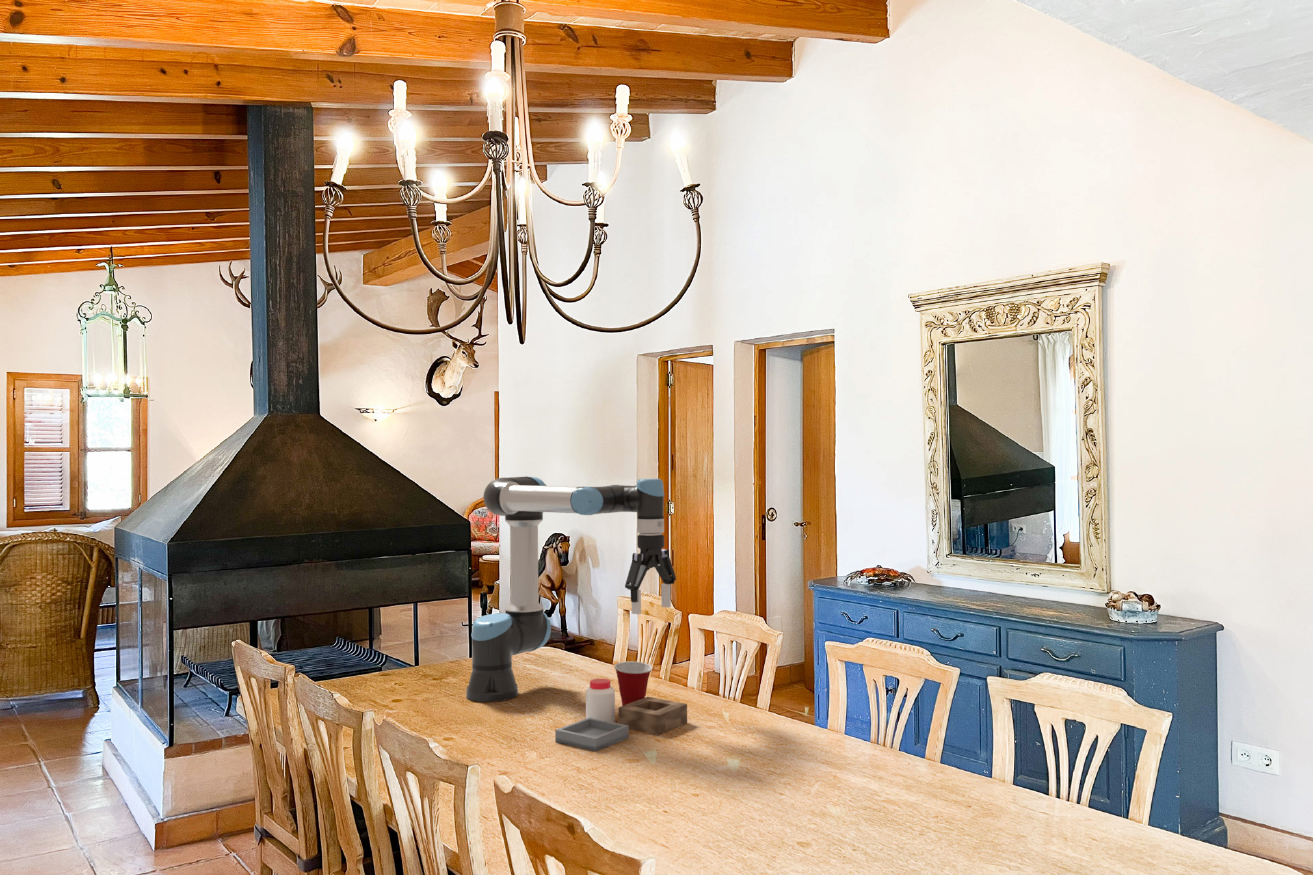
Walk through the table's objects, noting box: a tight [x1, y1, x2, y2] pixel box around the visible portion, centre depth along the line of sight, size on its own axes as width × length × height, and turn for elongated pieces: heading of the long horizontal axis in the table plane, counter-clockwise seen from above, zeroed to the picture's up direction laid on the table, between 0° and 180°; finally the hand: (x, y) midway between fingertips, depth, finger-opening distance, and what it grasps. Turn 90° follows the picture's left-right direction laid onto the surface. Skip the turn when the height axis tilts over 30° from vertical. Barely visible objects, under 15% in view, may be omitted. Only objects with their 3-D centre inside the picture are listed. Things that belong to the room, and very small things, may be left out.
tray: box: [554, 717, 630, 752], centre depth 231 cm, size 13×13×3 cm
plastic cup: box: [613, 660, 653, 706], centre depth 260 cm, size 11×11×12 cm
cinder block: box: [617, 696, 688, 736], centre depth 244 cm, size 13×13×5 cm
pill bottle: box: [585, 678, 616, 723], centre depth 246 cm, size 8×8×11 cm
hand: (651, 610), depth 257 cm, fingers open, 13 cm apart
